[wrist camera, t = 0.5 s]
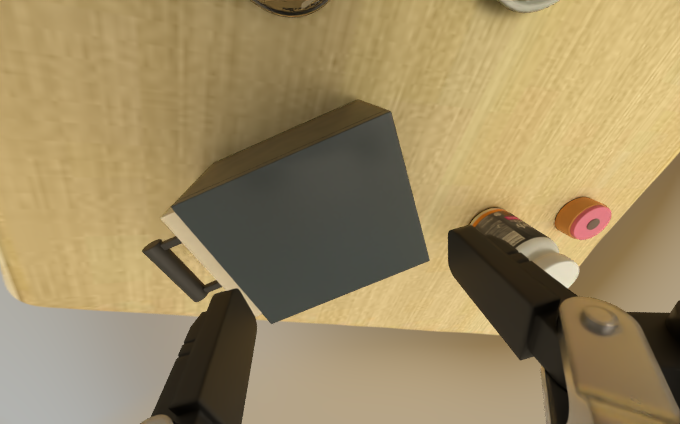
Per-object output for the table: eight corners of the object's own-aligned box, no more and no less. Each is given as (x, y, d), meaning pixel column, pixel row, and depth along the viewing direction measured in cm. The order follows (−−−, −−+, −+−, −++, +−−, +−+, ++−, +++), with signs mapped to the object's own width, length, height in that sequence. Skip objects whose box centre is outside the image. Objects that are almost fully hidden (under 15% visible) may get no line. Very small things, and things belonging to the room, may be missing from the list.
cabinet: (278, 258, 29) (271, 324, 21) (213, 162, 23) (169, 207, 15) (393, 210, 29) (430, 260, 21) (358, 99, 22) (391, 110, 15)
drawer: (222, 280, 29) (201, 339, 22) (150, 200, 23) (94, 246, 17) (371, 219, 28) (393, 261, 21) (333, 119, 22) (347, 136, 16)
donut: (556, 206, 32) (575, 216, 30) (595, 190, 32) (617, 199, 30) (553, 236, 35) (571, 247, 32) (589, 222, 34) (610, 232, 32)
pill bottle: (516, 215, 32) (597, 267, 23) (485, 249, 34) (550, 308, 25) (486, 199, 30) (563, 248, 21) (456, 236, 32) (515, 294, 23)
